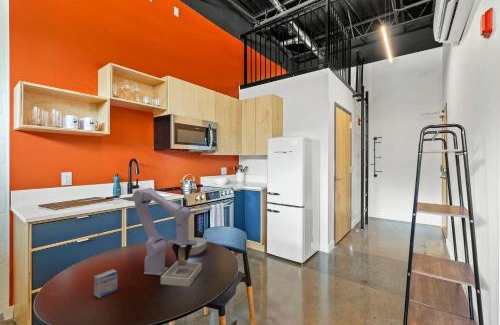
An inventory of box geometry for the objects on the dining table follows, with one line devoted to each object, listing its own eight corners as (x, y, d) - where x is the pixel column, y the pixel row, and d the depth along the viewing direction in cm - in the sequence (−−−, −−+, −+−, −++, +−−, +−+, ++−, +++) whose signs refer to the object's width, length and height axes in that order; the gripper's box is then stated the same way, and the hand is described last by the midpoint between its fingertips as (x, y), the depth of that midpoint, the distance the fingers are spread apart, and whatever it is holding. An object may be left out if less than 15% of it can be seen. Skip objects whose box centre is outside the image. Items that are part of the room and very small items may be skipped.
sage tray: (160, 284, 114) (160, 276, 114) (176, 267, 131) (176, 261, 131) (189, 286, 112) (189, 279, 112) (201, 269, 129) (201, 263, 129)
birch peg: (176, 265, 120) (176, 249, 120) (180, 261, 124) (180, 246, 124) (184, 266, 119) (184, 249, 119) (187, 262, 123) (187, 246, 123)
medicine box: (99, 298, 102) (99, 278, 102) (93, 295, 105) (93, 275, 105) (117, 290, 109) (117, 271, 109) (112, 287, 111) (112, 268, 111)
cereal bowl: (186, 247, 161) (186, 236, 161) (210, 249, 158) (210, 238, 158) (173, 257, 145) (173, 245, 145) (199, 260, 141) (199, 248, 141)
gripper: (164, 233, 118) (164, 261, 119) (193, 235, 116) (193, 263, 117) (171, 229, 125) (171, 255, 126) (198, 231, 123) (198, 257, 124)
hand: (182, 259), depth 122 cm, fingers closed on birch peg, 4 cm apart
